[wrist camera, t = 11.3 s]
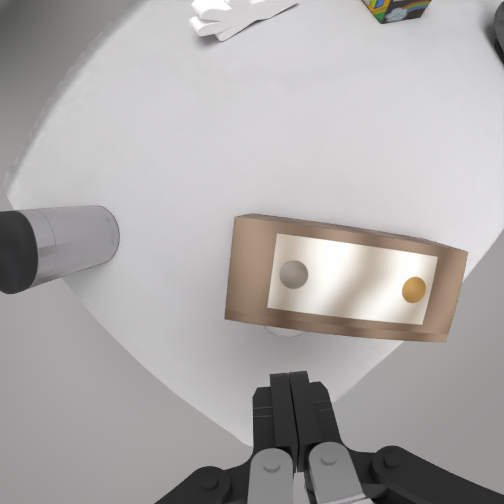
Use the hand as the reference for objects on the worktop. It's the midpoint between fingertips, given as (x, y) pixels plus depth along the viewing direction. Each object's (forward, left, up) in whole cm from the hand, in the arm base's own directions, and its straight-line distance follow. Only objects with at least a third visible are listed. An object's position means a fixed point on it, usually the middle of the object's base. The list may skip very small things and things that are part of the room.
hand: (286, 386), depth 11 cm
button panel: (+6, -1, -28) cm, 29 cm away
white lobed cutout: (+1, +37, -29) cm, 47 cm away
